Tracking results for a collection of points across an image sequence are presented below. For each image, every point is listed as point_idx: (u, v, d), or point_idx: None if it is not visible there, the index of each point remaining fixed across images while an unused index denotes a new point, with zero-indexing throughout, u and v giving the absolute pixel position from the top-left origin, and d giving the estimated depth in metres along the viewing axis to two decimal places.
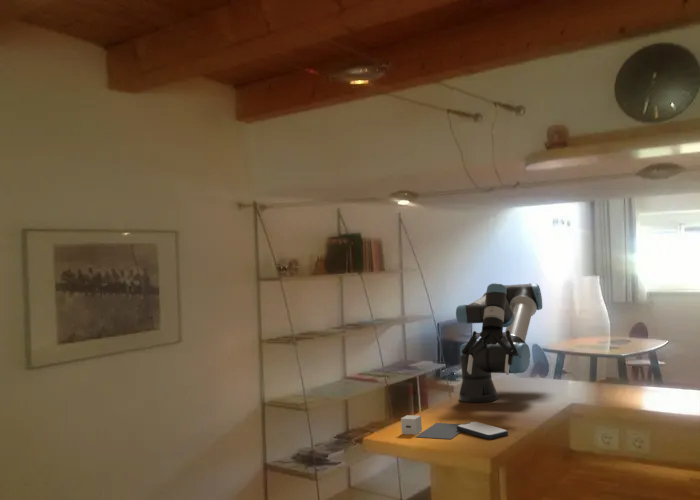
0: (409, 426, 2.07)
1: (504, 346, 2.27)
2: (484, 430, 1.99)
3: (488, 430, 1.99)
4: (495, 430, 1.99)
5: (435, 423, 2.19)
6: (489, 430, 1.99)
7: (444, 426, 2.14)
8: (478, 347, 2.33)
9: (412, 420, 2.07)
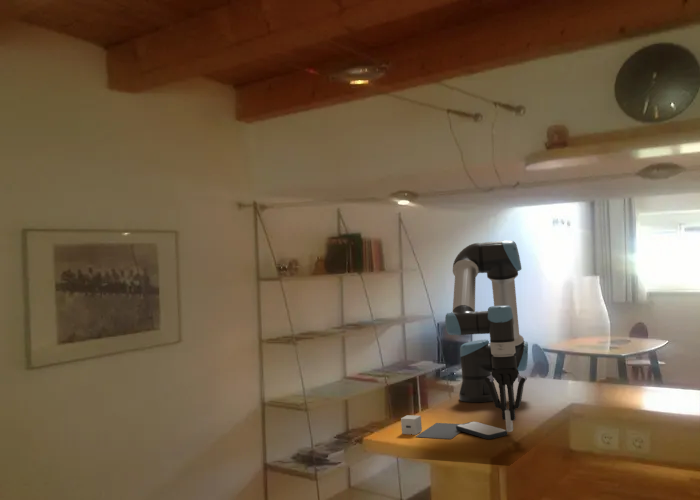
0: (409, 426, 2.07)
1: (510, 397, 1.97)
2: (483, 430, 2.00)
3: (487, 430, 1.99)
4: (494, 430, 1.99)
5: (435, 423, 2.19)
6: (488, 430, 1.99)
7: (444, 426, 2.14)
8: (504, 393, 1.99)
9: (412, 420, 2.07)
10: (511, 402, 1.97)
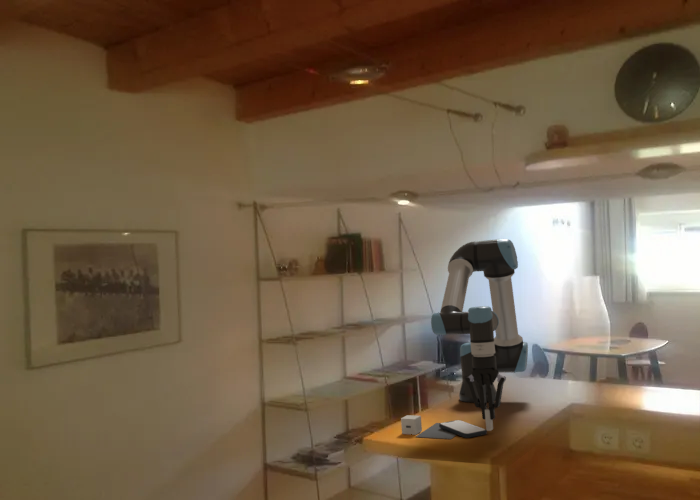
0: (409, 426, 2.07)
1: (489, 396, 2.00)
2: (463, 429, 2.03)
3: (467, 429, 2.02)
4: (474, 429, 2.02)
5: (435, 423, 2.19)
6: (468, 429, 2.02)
7: None
8: (484, 392, 2.02)
9: (412, 420, 2.07)
10: (491, 401, 2.00)
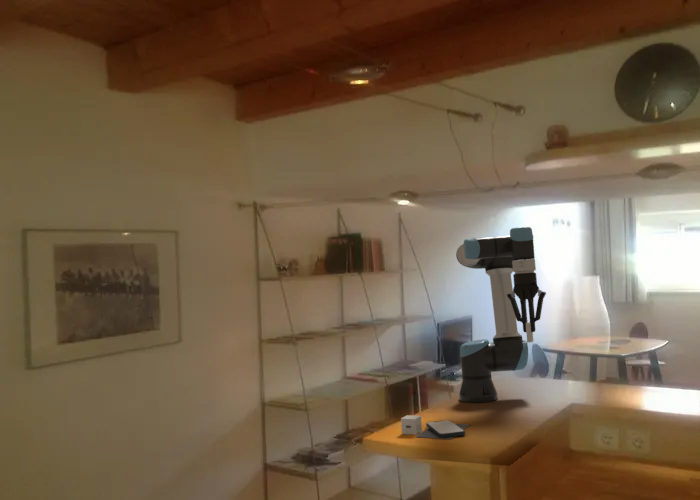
0: (409, 426, 2.07)
1: (530, 310, 2.14)
2: (443, 429, 2.04)
3: (447, 429, 2.04)
4: (453, 430, 2.03)
5: None
6: (447, 429, 2.04)
7: None
8: (525, 307, 2.16)
9: (412, 420, 2.07)
10: (531, 315, 2.14)
